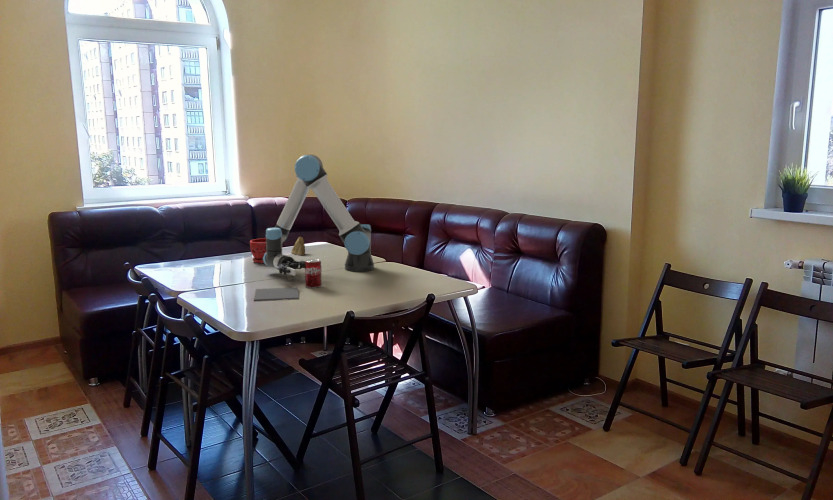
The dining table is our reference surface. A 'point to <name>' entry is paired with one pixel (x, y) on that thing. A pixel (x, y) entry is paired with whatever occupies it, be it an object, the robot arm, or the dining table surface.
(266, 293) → the mat
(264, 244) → the plant pot
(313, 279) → the soda can
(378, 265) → the dining table surface
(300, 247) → the rock
